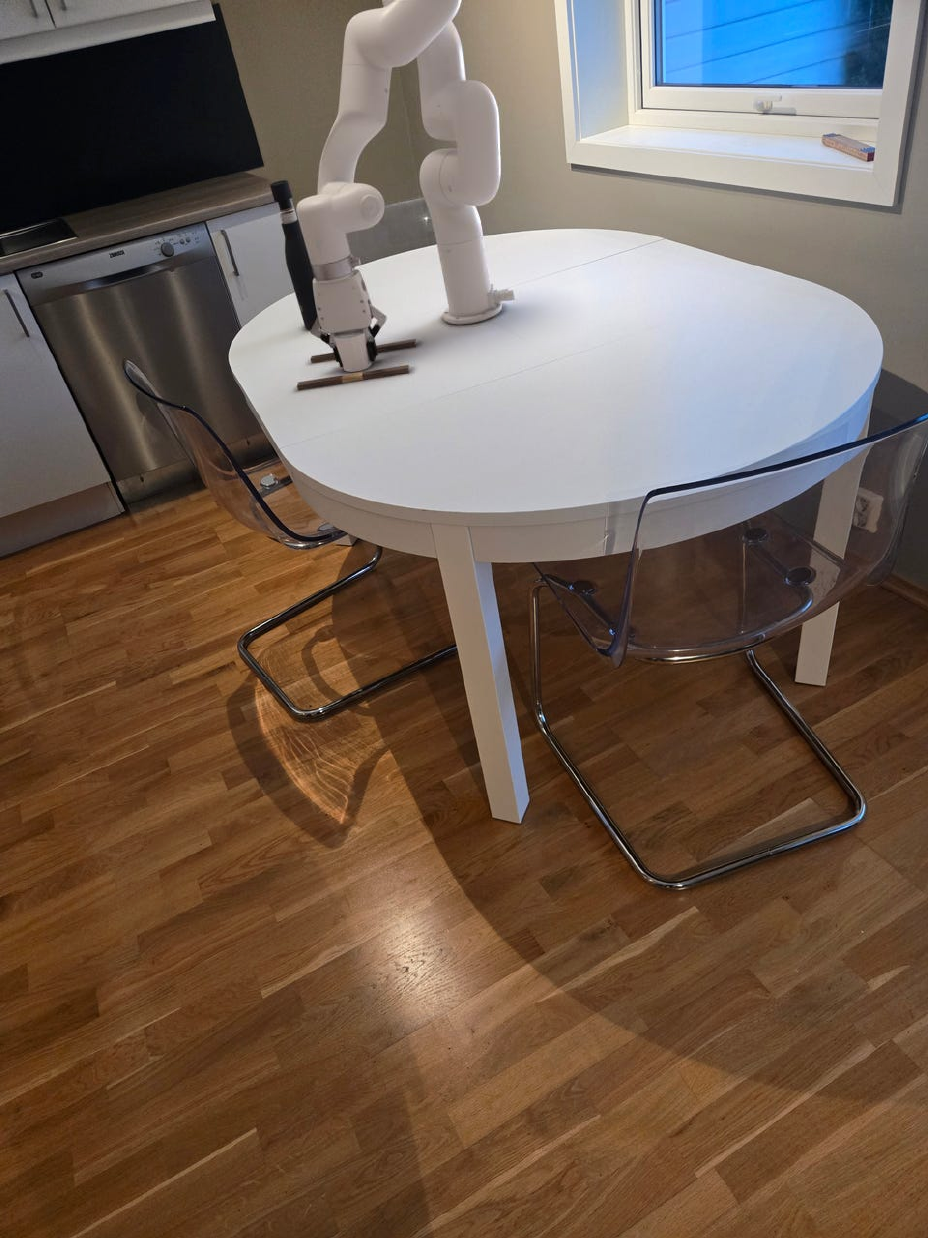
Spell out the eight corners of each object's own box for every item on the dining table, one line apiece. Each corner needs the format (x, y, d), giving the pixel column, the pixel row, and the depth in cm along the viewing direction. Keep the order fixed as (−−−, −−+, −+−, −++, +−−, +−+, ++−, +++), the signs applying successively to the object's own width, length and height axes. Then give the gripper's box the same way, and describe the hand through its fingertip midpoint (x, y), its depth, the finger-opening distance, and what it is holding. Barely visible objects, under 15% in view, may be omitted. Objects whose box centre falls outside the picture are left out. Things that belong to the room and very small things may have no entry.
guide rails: (416, 343, 177) (415, 338, 177) (408, 372, 165) (407, 367, 165) (313, 360, 180) (311, 355, 180) (298, 390, 169) (296, 385, 168)
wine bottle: (338, 319, 199) (299, 176, 182) (323, 330, 195) (282, 185, 177) (315, 319, 202) (275, 179, 184) (300, 330, 198) (257, 188, 180)
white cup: (368, 372, 169) (360, 336, 165) (335, 373, 171) (327, 338, 167) (379, 358, 174) (372, 323, 170) (347, 359, 176) (339, 325, 172)
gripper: (380, 254, 163) (402, 348, 174) (293, 270, 166) (320, 361, 177) (375, 266, 157) (398, 362, 168) (285, 282, 160) (313, 376, 171)
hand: (358, 361), depth 172 cm, fingers closed on white cup, 5 cm apart
